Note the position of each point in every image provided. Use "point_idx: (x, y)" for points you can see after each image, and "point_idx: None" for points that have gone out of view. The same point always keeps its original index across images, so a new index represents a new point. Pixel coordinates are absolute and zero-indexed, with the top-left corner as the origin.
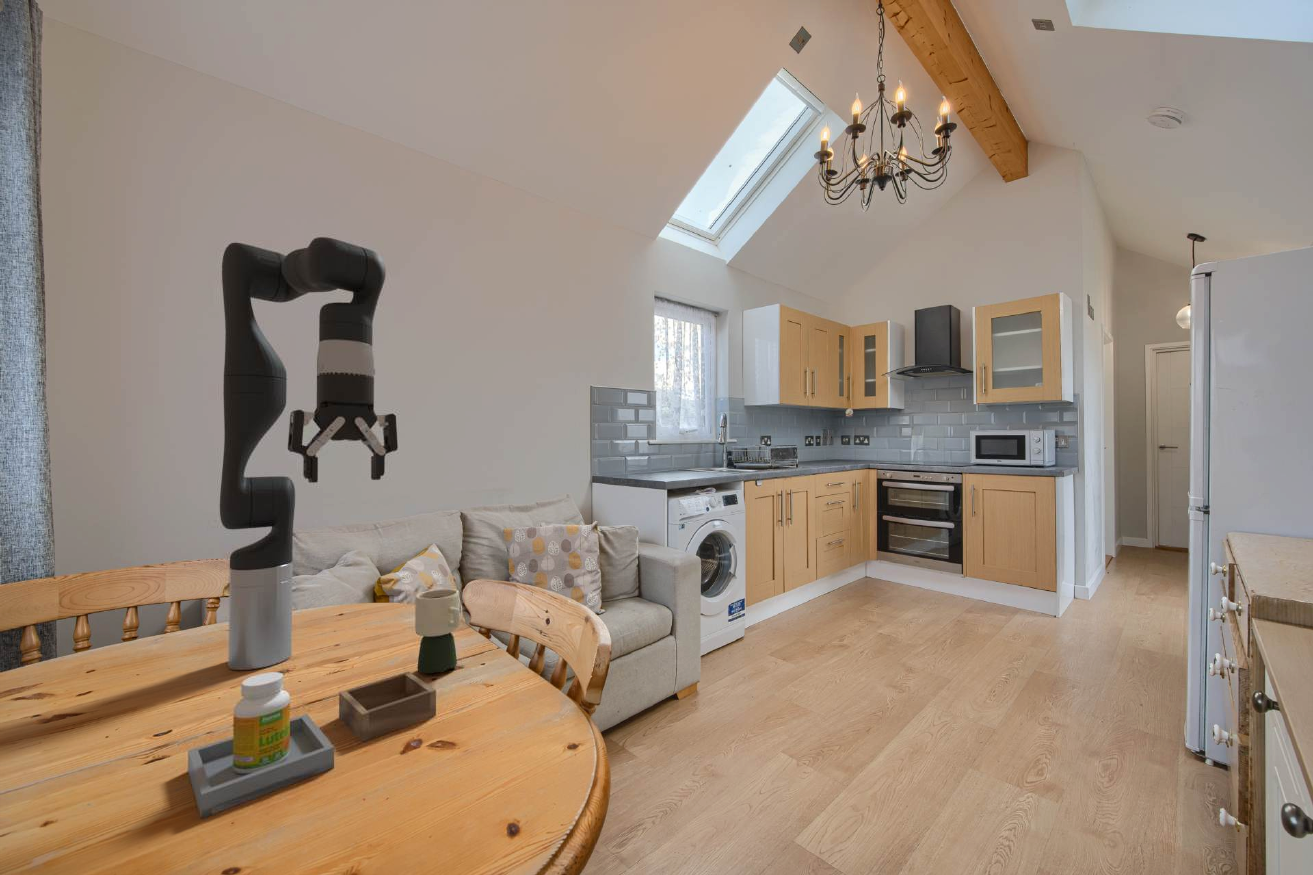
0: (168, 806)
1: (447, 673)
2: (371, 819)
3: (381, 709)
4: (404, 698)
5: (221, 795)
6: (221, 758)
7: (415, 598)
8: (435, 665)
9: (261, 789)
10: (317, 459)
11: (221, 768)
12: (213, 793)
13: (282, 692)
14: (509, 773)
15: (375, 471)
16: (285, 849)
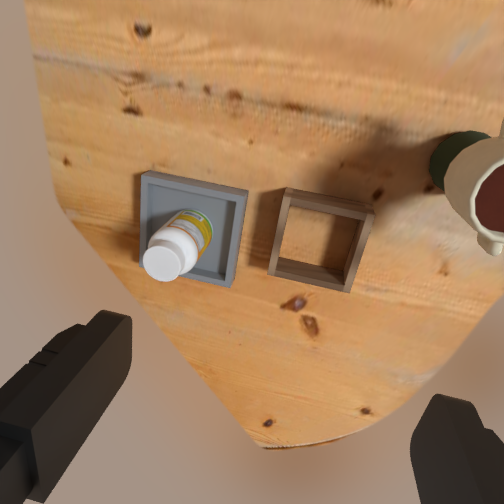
0: (132, 219)
1: None
2: (222, 353)
3: (287, 278)
4: (315, 279)
5: None
6: (170, 188)
7: (482, 170)
8: (441, 188)
9: None
10: (53, 485)
11: (166, 208)
12: None
13: (186, 263)
14: (309, 392)
15: (423, 485)
16: (177, 333)
